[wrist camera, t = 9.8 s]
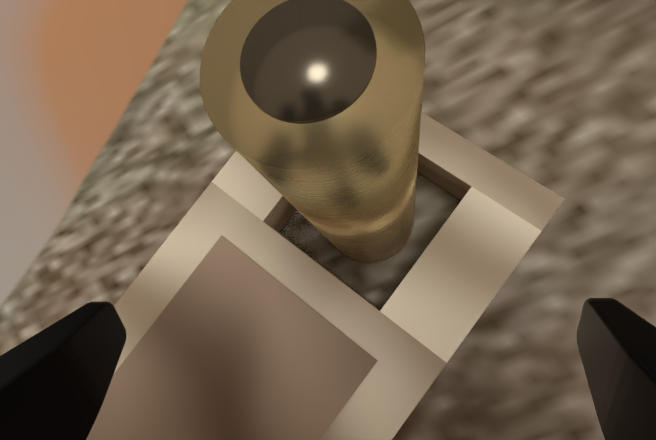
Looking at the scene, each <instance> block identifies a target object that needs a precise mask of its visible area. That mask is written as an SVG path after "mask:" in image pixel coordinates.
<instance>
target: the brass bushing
mask: <svg viewBox="0 0 656 440" xmlns="http://www.w3.org/2000/svg"><path fill="white" fill-rule="evenodd" d="M424 67H425V42H424V34H423V31H422V27H421V23H420V20H419V18H418V16H417V14H416V12H415V9H414V8H413V6H412V5H411V3H410V2H409V0H232V1H231V2H230V3H229V4H228V6H227V7H226V8H225V9H224V10H223V12H222V13H221V15H220V16H219V17H218V19H217V20H216V22H215V24H214V26H213V27H212V29H211V31H210V33H209V36H208V38H207V41H206V43H205V46H204V50H203V54H202V58H201V65H200V88H201V95H202V99H203V102H204V106H205V109H206V111H207V113H208V116H209V118H210V120H211V121H212V123H213V125H214V126H215V128H216V129H217V131H218V132H219V133H220V134H221V135H222V136H223V138H224V139H225V140H226V141H227V142H228V143H229V144H230V145H231V146H232V147H233V148H234V149H235V150H236V151H237V152H238V153H239V154H240V155H241V156H242V157H243V158H244V159H245V160H247V161H248V162H249V163H250V164H251V165H252V166H253V167H254V168H255V169H256V170H257V171H258V172H259V173H260V174H261V175H262V176H263V177H264V178H265V179H266V180H267V181H268V182H269V183H270V184H271V185H272V186H273V187H274V188H275V189H276V190H277V191H278V192H279V193H280V194H281V195H282V196H283V197H285V198H286V199H287V200H288V201H289V202H290V203H291V204H292V205H293V206H294V207H295V208H296V209H297V210H298V211H299V212H300V213H301V214H302V215H303V216H304V217H305V218H306V219H307V220H308V221H309V222H310V223H311V224H312V225H313V226H314V227H315V228H316V229H317V230H318V231H319V232H320V233H321V234H323V235H324V236H325V237H326V238H327V239H328V240H329V241H330V242H331V243H332V244H333V245H334V246H335V247H336V248H337V249H338V250H339V251H340V252H341V253H342V254H344V255H345V256H347V257H349V258H351V259H353V260H356V261H361V262H378V261H382V260H385V259H387V258H389V257H391V256H393V255H394V254H396V253H397V252H398V251H399V250H401V249H402V247H403V246H404V245H405V244H406V242H407V241H408V239H409V237H410V235H411V232H412V229H413V223H414V209H415V194H416V180H417V166H418V152H419V138H420V124H421V110H422V96H423V81H424Z"/></svg>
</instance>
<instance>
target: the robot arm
mask: <svg viewBox="0 0 656 440" xmlns="http://www.w3.org/2000/svg"><path fill="white" fill-rule="evenodd" d="M125 342H126V329H125V327H124V325H123V323H122V321H121V319H120V317H119V315H118V313H117V311H116V309H115V307H114V306H113V304H111V303H110V302H90V303H87V304H85V305H84V306H82V307H80V308H79V309H77V310H76V311H74V312H72V313H71V314H69V315H67V316H66V317H64V318H62V319H61V320H59V321H57V322H56V323H54V324H52V325H51V326H49V327H47V328H46V329H44V330H42V331H41V332H39V333H37V334H36V335H34V336H33V337H31V338H29V339H28V340H26V341H24V342H23V343H21V344H19V345H18V346H16V347H14V348H13V349H11V350H9V351H8V352H6V353H4V354H3V355H1V356H0V440H86V439H87V437H88V435H89V433H90V431H91V429H92V427H93V425H94V423H95V420H96V418H97V416H98V414H99V412H100V409H101V407H102V404H103V402H104V399H105V396H106V394H107V391H108V388H109V386H110V383H111V380H112V377H113V375H114V372H115V369H116V367H117V364H118V361H119V358H120V356H121V353H122V350H123V348H124V345H125ZM577 344H578V348H579V352H580V355H581V359H582V363H583V366H584V370H585V373H586V377H587V380H588V384H589V388H590V391H591V395H592V398H593V402H594V405H595V409H596V413H597V416H598V419H599V423H600V426H601V429H602V432H603V435H604V437H605V440H656V327H655V326H653V325H652V324H650V323H649V322H647V321H646V320H645V319H643V318H642V317H640V316H639V315H637V314H636V313H635V312H633V311H632V310H630V309H629V308H627V307H626V306H624V305H623V304H622V303H620V302H619V301H617V300H615V299H613V298H589V299H587V300H586V301H585V303H584V305H583V309H582V313H581V317H580V321H579V326H578V330H577Z"/></svg>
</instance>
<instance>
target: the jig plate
mask: <svg viewBox="0 0 656 440" xmlns="http://www.w3.org/2000/svg"><path fill="white" fill-rule="evenodd" d="M417 172H418V173H419V174H421V175H422V176H424V177H425V178H427V179H428V180H430V181H431V182H433V183H435V184H436V185H438V186H439V187H441V188H442V189H444V190H445V191H447V192H448V193H450V194H451V195H453V196H455V197H456V198H458V199H459V200H461V202H460V203H459V204H458V206H457V207H456V208H455V210H454V211H453V213H452V214H451V215H450V217H449V218H448V219H447V221H446V222H445V223H444V225H443V226H442V227H441V229H440V230H439V232H438V233H437V234H436V236H435V237H434V238H433V240H432V241H431V242H430V244H429V245H428V247H427V248H426V249H425V251H424V252H423V253H422V255H421V256H420V257H419V259H418V260H417V261H416V263H415V264H414V266H413V267H412V268H411V270H410V271H409V272H408V274H407V275H406V276H405V278H404V279H403V280H402V282H401V283H400V285H399V286H398V287H397V289H396V290H395V291H394V293H393V294H392V295H391V297H390V298H389V299H388V301H387V302H386V304H385V305H384V306H383V308H382V309H381V310H380V309H379V308H377V307H376V306H375V305H374V304H372V303H371V302H370V301H368V300H367V299H366V298H364V297H363V296H362V295H361V294H359V293H358V292H357V291H355V290H354V289H353V288H351V287H350V286H349V285H348V284H346V283H345V282H344V281H342V280H341V279H340V278H338V277H337V276H336V275H335V274H333V273H332V272H331V271H329V270H328V269H327V268H325V267H324V266H323V265H321V264H320V263H319V262H318V261H316V260H315V259H314V258H312V257H311V256H310V255H308V254H307V253H306V252H305V251H303V250H302V249H301V248H299V247H298V246H297V245H295V244H294V243H293V242H292V241H290V240H289V239H288V238H286V237H285V236H284V235H282V234H281V233H280V231H281V230H282V228H283V227H284V226H285V225H286V223H287V222H288V221H289V219H290V218H291V217H292V215H293V214H294V213H295V212H296V210H297V209H296V208H295V207H294V206H293V205H292V204H291V203H290V202H289V201H288V200H287V199H286V198H285V197H283V196H282V195H281V194H280V193H279V192H278V191H277V190H276V189H275V188H274V187H273V186H272V185H271V184H270V183H269V182H268V181H267V180H266V179H265V178H264V177H263V176H262V175H261V174H260V173H259V172H258V171H257V170H256V169H255V168H254V167H253V166H252V165H251V164H250V163H249V162H248V161H247V160H245V159H244V158H243V157H242V156H241V155H240V154H239V153H238V152H237V151H236V152H235V153H234V154H233V155H232V157H231V158H230V159H229V160H228V162H227V163H226V164H225V166H224V167H223V168H222V169H221V171H220V172H219V173H218V174H217V176H216V177H215V178H214V180H213V181H212V182H211V183H210V185H209V186H208V187H207V188H206V190H205V191H204V192H203V194H202V195H201V196H200V197H199V199H198V200H197V201H196V202H195V204H194V205H193V206H192V208H191V209H190V210H189V211H188V213H187V214H186V215H185V216H184V218H183V219H182V220H181V222H180V223H179V224H178V225H177V227H176V228H175V229H174V230H173V232H172V233H171V234H170V236H169V237H168V238H167V239H166V241H165V242H164V243H163V244H162V246H161V247H160V248H159V250H158V251H157V252H156V253H155V255H154V256H153V257H152V258H151V260H150V261H149V262H148V264H147V265H146V266H145V267H144V269H143V270H142V271H141V272H140V274H139V275H138V276H137V278H136V279H135V280H134V281H133V283H132V284H131V285H130V286H129V288H128V289H127V290H126V292H125V293H124V294H123V295H122V297H121V298H120V299H119V300H118V302H117V303H116V304H115V306H114V307H115V309H116V311H117V313H118V315H119V317H120V319H121V321H122V323H123V325H124V327H125V329H126V342H125V345H124V348H123V350H122V353H121V356H120V358H119V361H118V364H117V367H116V369H115V372H114V375H113V377H112V380H111V383H110V386H109V388H108V391H107V394H106V396H105V399H104V402H103V404H102V407H101V409H100V412H99V414H98V416H97V418H96V420H95V423H94V425H93V427H92V429H91V431H90V433H89V435H88V437H87V439H86V440H392V439H393V437H394V436H395V435H396V433H397V432H398V430H399V429H400V428H401V426H402V425H403V424H404V422H405V421H406V419H407V418H408V417H409V415H410V414H411V412H412V411H413V410H414V408H415V407H416V405H417V404H418V403H419V401H420V400H421V398H422V397H423V396H424V394H425V393H426V391H427V390H428V389H429V387H430V386H431V384H432V383H433V382H434V380H435V379H436V377H437V376H438V375H439V373H440V372H441V371H442V369H443V368H444V366H445V365H446V364H447V362H448V361H449V359H450V358H451V357H452V355H453V354H454V352H455V351H456V350H457V348H458V347H459V345H460V344H461V343H462V341H463V340H464V338H465V337H466V336H467V334H468V333H469V331H470V330H471V329H472V327H473V326H474V324H475V323H476V322H477V320H478V319H479V318H480V316H481V315H482V313H483V312H484V311H485V309H486V308H487V306H488V305H489V304H490V302H491V301H492V299H493V298H494V297H495V295H496V294H497V292H498V291H499V290H500V288H501V287H502V285H503V284H504V283H505V281H506V280H507V278H508V277H509V276H510V274H511V273H512V271H513V270H514V269H515V267H516V266H517V265H518V263H519V262H520V260H521V259H522V258H523V256H524V255H525V253H526V252H527V251H528V249H529V248H530V246H531V245H532V244H533V242H534V241H535V239H536V238H537V237H538V235H539V234H540V232H541V231H542V230H543V228H544V227H545V225H546V224H547V223H548V221H549V220H550V218H551V217H552V216H553V214H554V213H555V212H556V210H557V209H558V207H559V206H560V205H561V203H562V202H563V200H564V198H562V197H561V196H559V195H557V194H556V193H554V192H552V191H551V190H549V189H547V188H546V187H544V186H542V185H541V184H539V183H537V182H536V181H534V180H533V179H531V178H529V177H528V176H526V175H524V174H523V173H521V172H519V171H518V170H516V169H514V168H513V167H511V166H509V165H508V164H506V163H504V162H503V161H501V160H499V159H498V158H496V157H495V156H493V155H491V154H490V153H488V152H486V151H485V150H483V149H481V148H480V147H478V146H476V145H475V144H473V143H471V142H470V141H468V140H466V139H465V138H463V137H461V136H460V135H458V134H456V133H455V132H453V131H452V130H450V129H448V128H447V127H445V126H443V125H442V124H440V123H438V122H437V121H435V120H433V119H432V118H430V117H428V116H427V115H425V114H423V113H422V112H421V124H420V138H419V152H418V166H417Z"/></svg>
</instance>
